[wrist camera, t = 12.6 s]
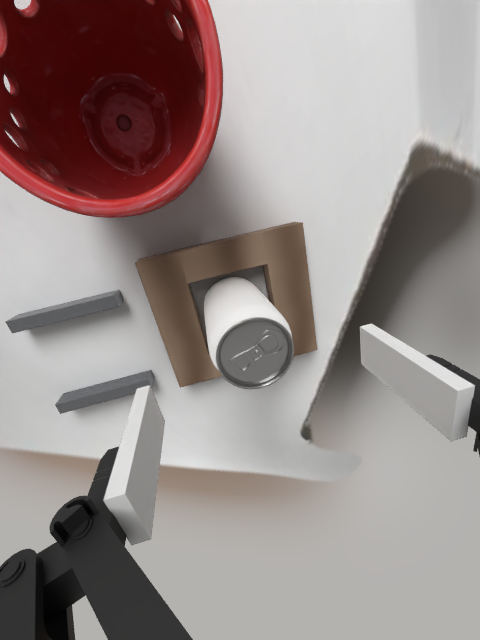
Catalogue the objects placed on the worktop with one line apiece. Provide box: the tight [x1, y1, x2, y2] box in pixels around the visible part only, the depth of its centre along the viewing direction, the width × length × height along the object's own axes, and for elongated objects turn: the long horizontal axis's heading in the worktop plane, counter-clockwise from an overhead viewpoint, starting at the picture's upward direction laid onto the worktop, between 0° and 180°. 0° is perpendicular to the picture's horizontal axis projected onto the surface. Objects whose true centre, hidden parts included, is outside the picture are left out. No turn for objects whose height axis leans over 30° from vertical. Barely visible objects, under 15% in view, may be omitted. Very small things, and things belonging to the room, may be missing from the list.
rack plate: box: [135, 222, 317, 387], centre depth 29 cm, size 16×14×3 cm
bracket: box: [6, 290, 154, 414], centre depth 28 cm, size 10×11×2 cm
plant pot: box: [0, 0, 223, 218], centre depth 18 cm, size 13×13×12 cm
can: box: [204, 277, 294, 389], centre depth 24 cm, size 6×6×12 cm
